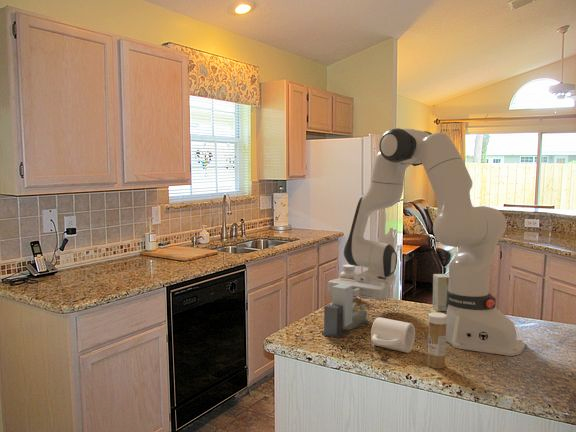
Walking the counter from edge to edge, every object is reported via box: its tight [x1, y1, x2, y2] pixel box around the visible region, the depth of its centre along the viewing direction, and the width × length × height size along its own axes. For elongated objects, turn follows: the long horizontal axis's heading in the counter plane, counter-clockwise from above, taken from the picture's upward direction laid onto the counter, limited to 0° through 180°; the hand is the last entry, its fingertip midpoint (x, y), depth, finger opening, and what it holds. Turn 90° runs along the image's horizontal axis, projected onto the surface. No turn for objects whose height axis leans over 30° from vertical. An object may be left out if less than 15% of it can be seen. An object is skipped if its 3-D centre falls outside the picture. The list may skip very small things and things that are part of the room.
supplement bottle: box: [339, 264, 358, 301], centre depth 186 cm, size 7×7×13 cm
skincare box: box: [432, 273, 449, 312], centre depth 171 cm, size 6×4×12 cm
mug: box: [370, 316, 416, 353], centre depth 133 cm, size 12×10×8 cm
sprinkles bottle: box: [426, 311, 447, 369], centre depth 122 cm, size 5×5×13 cm
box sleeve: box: [331, 283, 354, 327], centre depth 149 cm, size 4×5×12 cm
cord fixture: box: [321, 301, 369, 339], centre depth 151 cm, size 6×19×9 cm, turn 145°
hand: (346, 293), depth 151 cm, fingers closed, pressing on box sleeve
